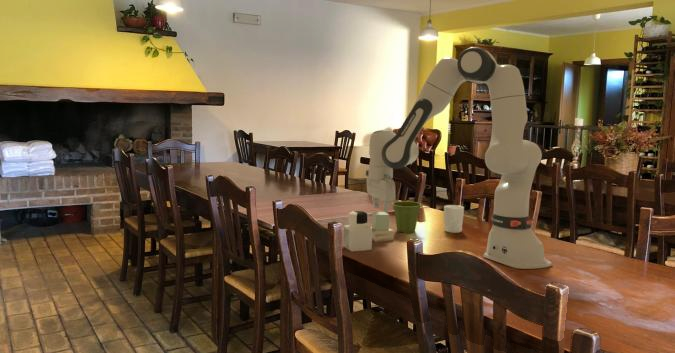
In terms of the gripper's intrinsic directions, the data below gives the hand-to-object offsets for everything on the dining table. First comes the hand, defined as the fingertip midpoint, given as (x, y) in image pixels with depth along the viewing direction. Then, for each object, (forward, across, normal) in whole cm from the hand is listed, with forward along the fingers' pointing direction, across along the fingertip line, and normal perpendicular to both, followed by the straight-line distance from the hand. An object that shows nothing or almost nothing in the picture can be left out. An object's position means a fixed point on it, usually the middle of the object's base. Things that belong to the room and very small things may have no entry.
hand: (380, 209), depth 200 cm
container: (+11, -11, +13) cm, 20 cm away
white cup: (+12, +6, -34) cm, 36 cm away
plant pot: (+11, +10, -15) cm, 21 cm away
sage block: (+7, 0, 0) cm, 7 cm away
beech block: (+11, +1, 0) cm, 11 cm away
